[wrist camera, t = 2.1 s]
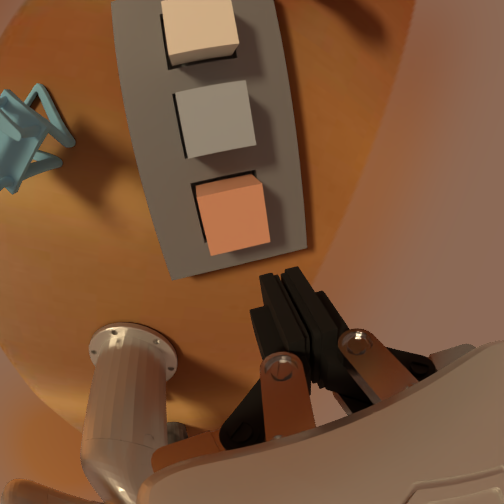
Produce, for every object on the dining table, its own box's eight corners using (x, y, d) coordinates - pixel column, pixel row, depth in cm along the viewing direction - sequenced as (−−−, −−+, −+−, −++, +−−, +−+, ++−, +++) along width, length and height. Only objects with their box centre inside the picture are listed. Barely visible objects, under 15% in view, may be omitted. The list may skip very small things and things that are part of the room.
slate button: (245, 141, 23) (256, 144, 19) (188, 152, 22) (188, 158, 19) (236, 86, 20) (245, 80, 17) (177, 97, 20) (175, 92, 16)
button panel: (297, 236, 31) (307, 247, 28) (173, 265, 29) (172, 280, 27) (260, -12, 18) (267, -24, 15) (118, 12, 16) (111, 2, 14)
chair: (50, 185, 22) (-14, 230, 12) (5, 144, 19) (-67, 170, 8) (90, 123, 21) (26, 132, 11) (40, 82, 17) (-32, 75, 7)
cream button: (231, 55, 19) (239, 43, 15) (172, 66, 18) (168, 55, 15) (222, 8, 17) (229, -10, 13) (165, 18, 16) (161, 1, 13)
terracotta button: (259, 224, 27) (270, 242, 23) (207, 236, 26) (210, 256, 23) (251, 173, 24) (262, 183, 21) (195, 185, 24) (196, 197, 20)
